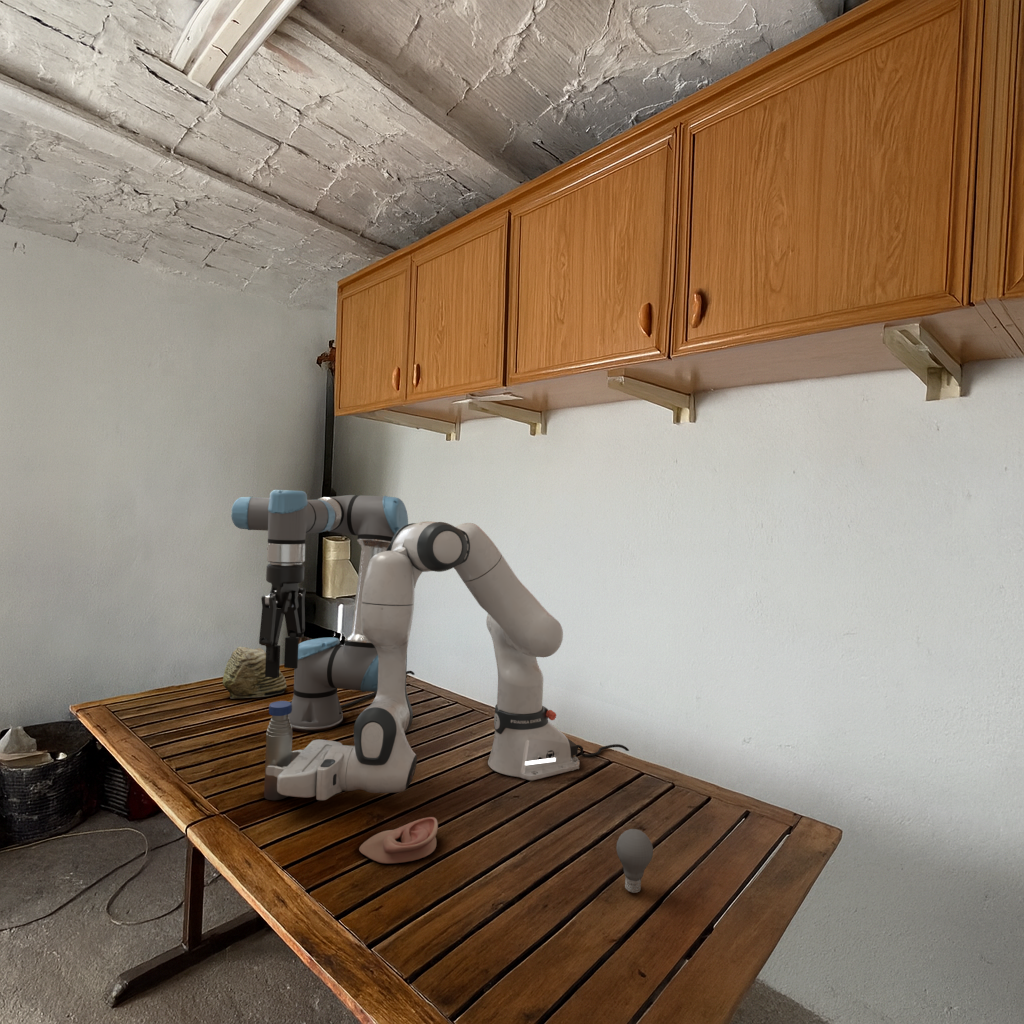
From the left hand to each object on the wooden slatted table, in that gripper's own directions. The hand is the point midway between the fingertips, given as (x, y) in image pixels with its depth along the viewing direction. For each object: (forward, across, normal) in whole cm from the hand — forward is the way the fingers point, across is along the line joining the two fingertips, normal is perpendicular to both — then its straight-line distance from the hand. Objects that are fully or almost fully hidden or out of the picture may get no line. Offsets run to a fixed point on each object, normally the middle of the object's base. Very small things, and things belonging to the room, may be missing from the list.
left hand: (281, 672), depth 133 cm
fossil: (+26, -58, -42) cm, 76 cm away
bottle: (+26, 0, 0) cm, 26 cm away
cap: (+7, 0, 0) cm, 7 cm away
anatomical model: (+26, +13, +32) cm, 43 cm away
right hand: (+19, 0, -1) cm, 19 cm away
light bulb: (+26, +16, +74) cm, 80 cm away
